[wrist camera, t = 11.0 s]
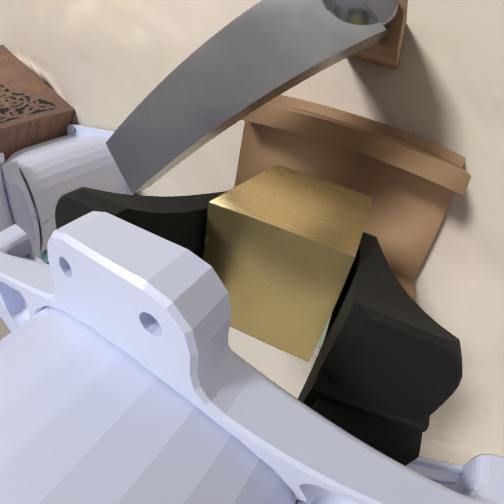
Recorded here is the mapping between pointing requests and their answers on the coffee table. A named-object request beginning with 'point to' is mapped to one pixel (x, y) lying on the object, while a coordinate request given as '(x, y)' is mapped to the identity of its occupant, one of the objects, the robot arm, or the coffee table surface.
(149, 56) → the coffee table surface
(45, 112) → the tissue box cover
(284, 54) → the lever
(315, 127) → the body
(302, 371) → the coffee table surface
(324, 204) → the tan cube
